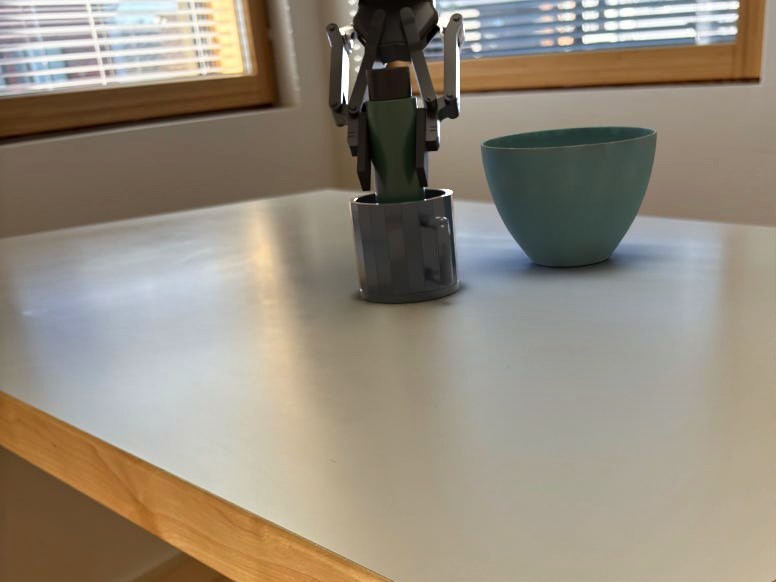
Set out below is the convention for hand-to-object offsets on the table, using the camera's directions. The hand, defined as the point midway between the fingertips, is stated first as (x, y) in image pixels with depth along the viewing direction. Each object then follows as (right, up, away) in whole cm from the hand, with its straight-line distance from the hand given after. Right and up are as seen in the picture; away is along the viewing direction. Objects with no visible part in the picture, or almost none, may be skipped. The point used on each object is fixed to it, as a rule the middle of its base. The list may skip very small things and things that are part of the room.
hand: (392, 179), depth 96 cm
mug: (+2, -8, +7) cm, 11 cm away
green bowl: (+18, -1, +17) cm, 25 cm away
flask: (0, -2, +5) cm, 6 cm away
